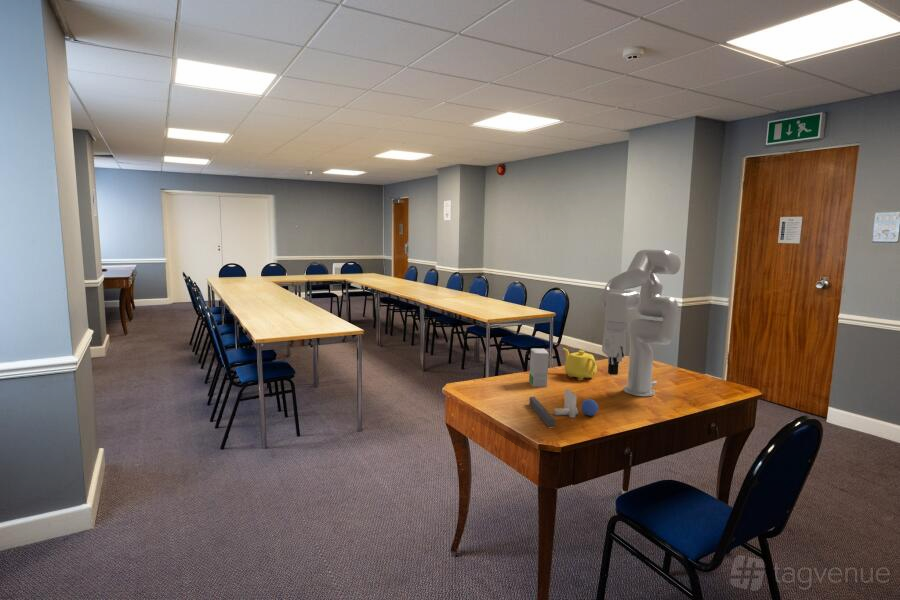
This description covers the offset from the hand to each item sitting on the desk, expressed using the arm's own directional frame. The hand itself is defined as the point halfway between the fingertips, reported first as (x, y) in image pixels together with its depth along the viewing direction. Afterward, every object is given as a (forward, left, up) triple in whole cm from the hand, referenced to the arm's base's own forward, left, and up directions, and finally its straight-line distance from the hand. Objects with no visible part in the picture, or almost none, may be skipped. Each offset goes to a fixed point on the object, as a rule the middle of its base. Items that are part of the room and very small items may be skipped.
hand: (612, 374), depth 183 cm
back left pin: (+16, -4, -15) cm, 22 cm away
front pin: (+12, -6, -14) cm, 19 cm away
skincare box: (-1, -41, -15) cm, 44 cm away
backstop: (+24, -11, -15) cm, 31 cm away
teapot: (-26, -41, -15) cm, 50 cm away
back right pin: (+14, -9, -15) cm, 22 cm away
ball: (+9, -2, -12) cm, 15 cm away
